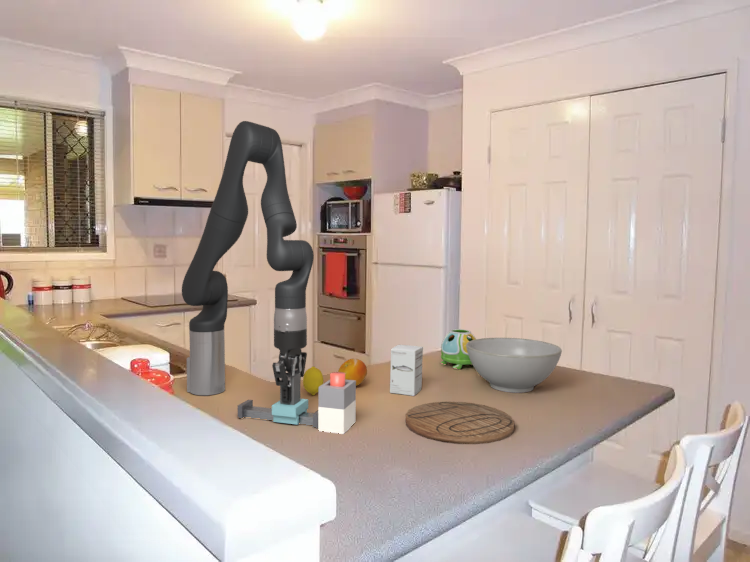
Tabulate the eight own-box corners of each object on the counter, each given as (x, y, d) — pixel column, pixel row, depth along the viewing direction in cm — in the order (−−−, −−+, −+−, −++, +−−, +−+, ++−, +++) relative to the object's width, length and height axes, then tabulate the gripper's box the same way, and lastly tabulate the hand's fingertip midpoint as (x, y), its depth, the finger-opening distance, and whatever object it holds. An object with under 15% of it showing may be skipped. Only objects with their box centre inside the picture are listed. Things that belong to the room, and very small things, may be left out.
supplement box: (389, 393, 154) (389, 348, 153) (398, 386, 160) (398, 343, 159) (414, 396, 151) (415, 350, 150) (422, 389, 158) (423, 345, 157)
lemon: (319, 398, 148) (320, 369, 147) (300, 397, 149) (300, 368, 148) (325, 393, 153) (326, 364, 152) (306, 391, 154) (306, 363, 153)
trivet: (383, 420, 132) (383, 412, 132) (459, 403, 147) (459, 396, 147) (458, 455, 112) (458, 446, 112) (537, 430, 127) (537, 422, 127)
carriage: (271, 422, 127) (271, 377, 127) (285, 413, 134) (285, 370, 133) (295, 425, 126) (295, 379, 125) (308, 416, 132) (308, 372, 131)
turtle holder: (473, 375, 175) (474, 337, 174) (432, 364, 189) (433, 329, 188) (498, 369, 183) (499, 333, 182) (457, 359, 197) (458, 326, 196)
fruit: (332, 388, 158) (332, 360, 157) (344, 381, 166) (345, 354, 165) (360, 391, 155) (360, 363, 154) (371, 384, 163) (371, 357, 162)
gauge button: (327, 401, 125) (327, 374, 124) (333, 396, 128) (333, 371, 128) (341, 402, 124) (342, 376, 123) (347, 398, 127) (347, 372, 127)
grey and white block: (318, 431, 124) (318, 387, 123) (331, 419, 131) (331, 378, 130) (343, 434, 122) (343, 389, 121) (355, 422, 129) (355, 380, 129)
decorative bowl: (525, 372, 179) (526, 335, 178) (580, 396, 153) (582, 353, 152) (449, 378, 170) (450, 339, 169) (495, 404, 145) (496, 358, 144)
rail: (237, 418, 131) (237, 405, 131) (248, 412, 136) (248, 399, 136) (317, 428, 125) (317, 414, 125) (325, 421, 130) (326, 408, 130)
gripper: (289, 321, 136) (289, 390, 137) (260, 330, 122) (261, 407, 124) (317, 323, 134) (317, 393, 135) (291, 332, 120) (291, 410, 122)
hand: (290, 399), depth 129 cm, fingers closed on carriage, 3 cm apart
